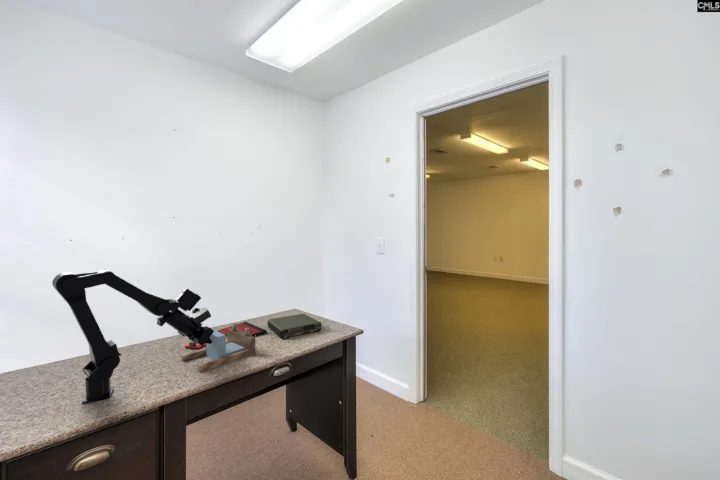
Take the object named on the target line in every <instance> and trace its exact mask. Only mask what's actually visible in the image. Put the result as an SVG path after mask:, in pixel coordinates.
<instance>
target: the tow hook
mask: <svg viewBox="0 0 720 480" xmlns="http://www.w3.org/2000/svg"><path fill="white" fill-rule="evenodd" d="M204 347H206V343H205V344H204V345H203V346H201V345H199V344H197V343H196V342H194V341H192V340H190V342H188V344H185V345H184V348H185V349H193V350H195V349H196V350H201V348H204Z"/></svg>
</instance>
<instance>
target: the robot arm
mask: <svg viewBox="0 0 720 480" xmlns="http://www.w3.org/2000/svg"><path fill="white" fill-rule="evenodd" d="M51 284H52V286H53V288H54V289H55V291H56V292H57V293H58V294H59V295H60V296H61V297H62V299H63V300H64V301H65V302H66V303H67V304H68V305H69V308H70V310H71V312H72V314H73V316H74V318H75V320H76V322H77V324H78V326H79V327H80V330H81V332H82V334H83V336H84V338H85V340H86V341H87V344H88V350H89V356H90V361H89V362H88V363H87V364H86V365H85V366H84V367H83V368H82V370H81V371H82V372H83V374H84V376H86V378H85V379H84V381H85V382H84V383H85V384H84V385H85V396H84V397H83V399H82V400H81V404H87V403H92V402H97V401H100V400H101V401H102V400H105V399H106V400H107V399H109V398H110V397H111V395H112V394H113V391H114V390H115V389H114V387H113V386H112V387H111V378H112V376H113V373H114V372H115V371H114V370H115V369H116V368H117V367H118V366H119V364H120V362H121V356H122V353H120V352H119V350H118V346H117V345H118V344H117V343H115V342H114V341H113V340H111V339H110V340H108V341H107V340H106V339H105V336H104V335H103V331H102V330H101V328H100V326H99V324H98V322H97V319H96V318H95V316H94V314H93V311H92V310H91V308H90V305H89V303H88V302H87V294H86V293H87V292H86V289H88V288H93V287H97V286H101V285H105V286H108V287H110V288H111V289H113V290H115V291H117V292H119V293H121V294H122V295H124V296H127V297H128V298H130V299H132V300H133V301H135V302H137V304H139V305H140V306H141V307H142V308H143V309H145V311H147V312H149V313H150V314H152V315H154V316H157V318H156V325H157V326H159V327H164V325H165V324H166V325H168V326H171V328H173V329H174V330H176V331H177V334H179V335H180V336H182V337H187V338H188V339H189V340H190V341H191V340H192V341H194V342H196V344H197V345H201V346H203V345H204V344H205V343H206V344H211V343H212V340H211V339H210V336H211V335H212V334H213V333H214V330H215V329H213V328H211V327H209V326H203V322H205V321H206V320H209V319H210V318H211V317H212V314H211V313H210V310H209V309H208V308H206V307H200V308H198V307H196V305H197V304H198V303H199V302H200V301H201V300H202V297H201V296H200V295H199V294H197V293H195V292H194V291H191V290H190V289H189V288H184V289H182V291H181V292H180V294H179V295H178V296H177V297H176V298H175V299H172V298H170V299H165V298H162V297H159V296H157V295H154V294H151V293H149V292H146V291H144V290H143V289H141V288H139V287H138V286H135V285H134V284H132V283H131V282H128V281H127V280H125V279H123V278H121V277H119V276H118V275H116V274H115V272H112V271H111V270H107V269H103V270H102V269H101V270H99V271H91V272H89V271H88V272H81V273H80V272H79V273H74V272H70V271H67V272H66V271H65V272H60V273H59V274H57V275H56V276H54V278H53V279H52V283H51ZM191 310H192V313H191V315H188V314H186V313H184V312H187V311H188V312H190V311H191ZM203 347H204V346H203Z"/></svg>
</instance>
